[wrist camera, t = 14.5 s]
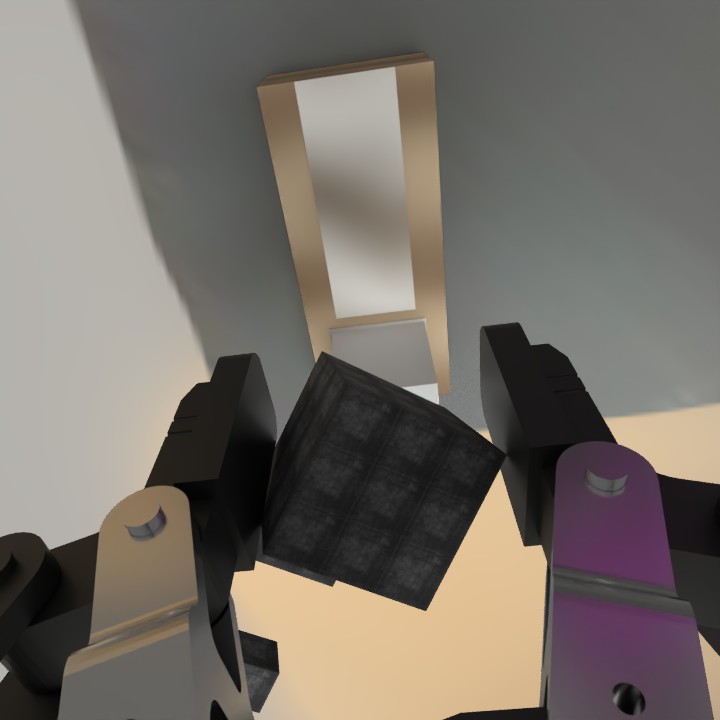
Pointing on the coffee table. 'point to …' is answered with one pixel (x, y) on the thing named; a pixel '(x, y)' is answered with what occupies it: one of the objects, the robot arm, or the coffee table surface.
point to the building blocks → (367, 495)
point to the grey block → (391, 355)
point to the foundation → (362, 196)
